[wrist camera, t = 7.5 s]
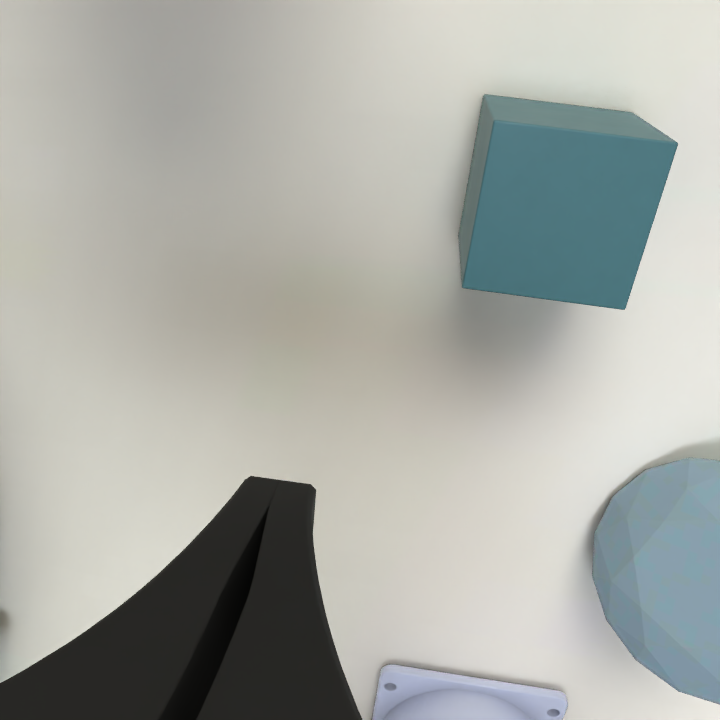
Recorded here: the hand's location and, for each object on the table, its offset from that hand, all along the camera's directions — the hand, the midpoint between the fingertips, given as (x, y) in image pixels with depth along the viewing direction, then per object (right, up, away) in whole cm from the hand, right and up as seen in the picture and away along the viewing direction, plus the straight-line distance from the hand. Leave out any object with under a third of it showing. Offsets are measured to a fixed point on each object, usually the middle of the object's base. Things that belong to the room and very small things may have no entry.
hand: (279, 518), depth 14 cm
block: (+7, +8, +6) cm, 12 cm away
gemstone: (+13, -2, +11) cm, 17 cm away
